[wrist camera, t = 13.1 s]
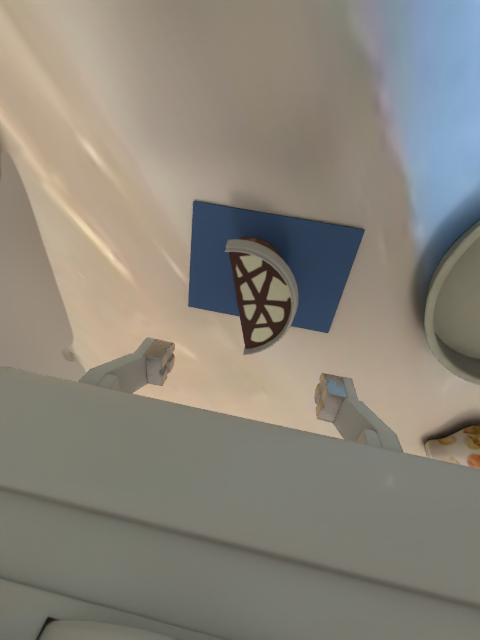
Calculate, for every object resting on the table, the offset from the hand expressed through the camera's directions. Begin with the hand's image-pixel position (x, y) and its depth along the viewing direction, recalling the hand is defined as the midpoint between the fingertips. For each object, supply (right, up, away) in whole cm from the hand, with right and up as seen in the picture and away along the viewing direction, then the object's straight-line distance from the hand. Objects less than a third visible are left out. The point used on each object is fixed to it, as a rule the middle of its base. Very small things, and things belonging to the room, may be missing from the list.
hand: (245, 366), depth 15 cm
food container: (+4, +9, +20) cm, 22 cm away
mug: (+35, -16, +30) cm, 48 cm away
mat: (+3, +9, +21) cm, 23 cm away
